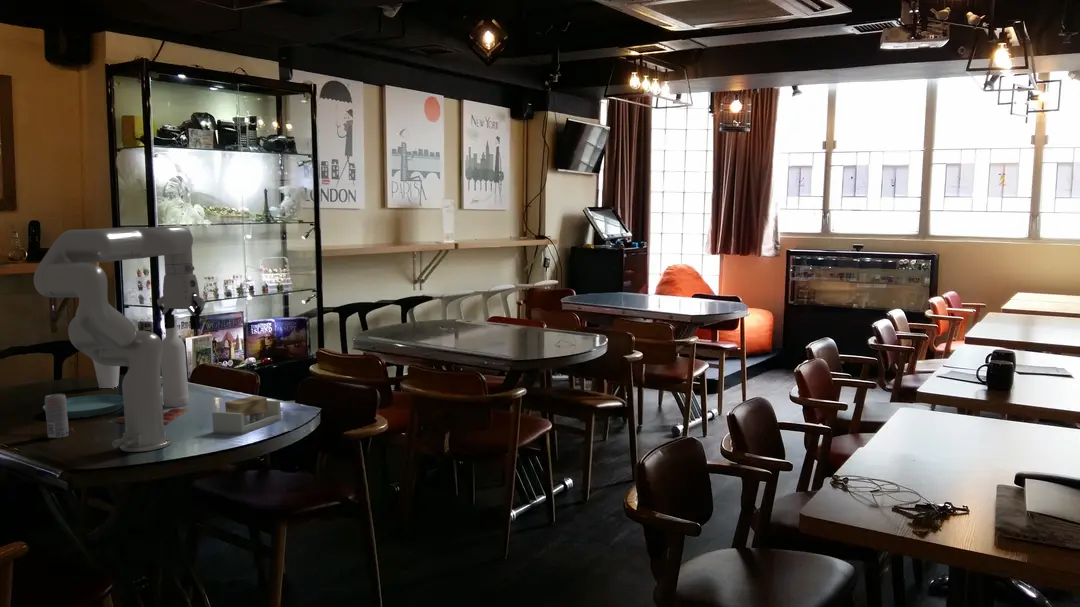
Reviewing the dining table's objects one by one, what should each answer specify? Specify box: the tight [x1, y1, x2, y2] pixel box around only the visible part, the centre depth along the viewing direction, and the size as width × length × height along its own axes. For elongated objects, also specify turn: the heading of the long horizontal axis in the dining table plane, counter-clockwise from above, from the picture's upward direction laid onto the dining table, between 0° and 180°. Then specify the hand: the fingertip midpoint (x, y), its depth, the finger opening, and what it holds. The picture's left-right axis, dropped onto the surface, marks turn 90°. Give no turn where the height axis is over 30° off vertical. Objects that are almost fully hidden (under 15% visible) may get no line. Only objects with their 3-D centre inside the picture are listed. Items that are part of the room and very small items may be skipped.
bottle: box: [161, 314, 190, 408], centre depth 283 cm, size 8×8×30 cm
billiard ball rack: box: [116, 407, 189, 426], centre depth 268 cm, size 18×2×20 cm
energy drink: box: [44, 393, 70, 439], centre depth 245 cm, size 5×5×12 cm
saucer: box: [42, 394, 124, 419], centre depth 278 cm, size 24×24×3 cm
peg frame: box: [211, 399, 282, 436], centre depth 252 cm, size 18×10×6 cm, turn 161°
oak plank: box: [224, 395, 268, 417], centre depth 251 cm, size 10×6×4 cm, turn 146°
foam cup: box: [91, 359, 121, 389], centre depth 318 cm, size 10×9×13 cm
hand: (182, 328), depth 249 cm, fingers open, 9 cm apart
